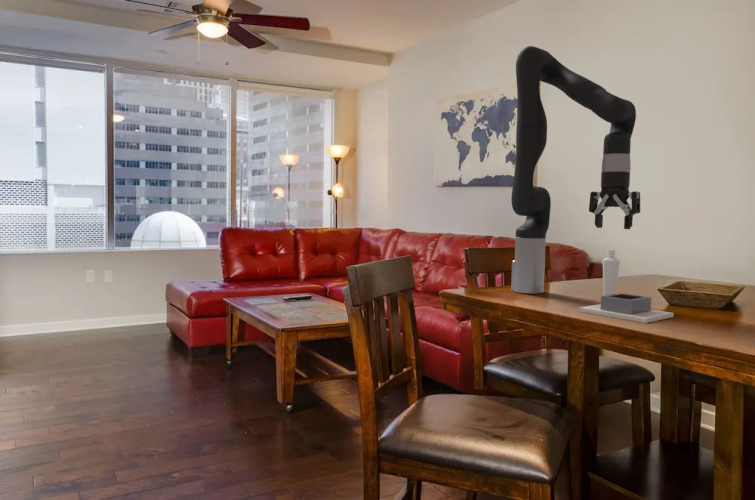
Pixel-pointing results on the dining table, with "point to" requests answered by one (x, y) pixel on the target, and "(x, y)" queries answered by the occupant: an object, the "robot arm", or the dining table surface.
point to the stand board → (639, 317)
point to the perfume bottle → (610, 273)
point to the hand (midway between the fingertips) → (612, 228)
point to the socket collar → (626, 303)
